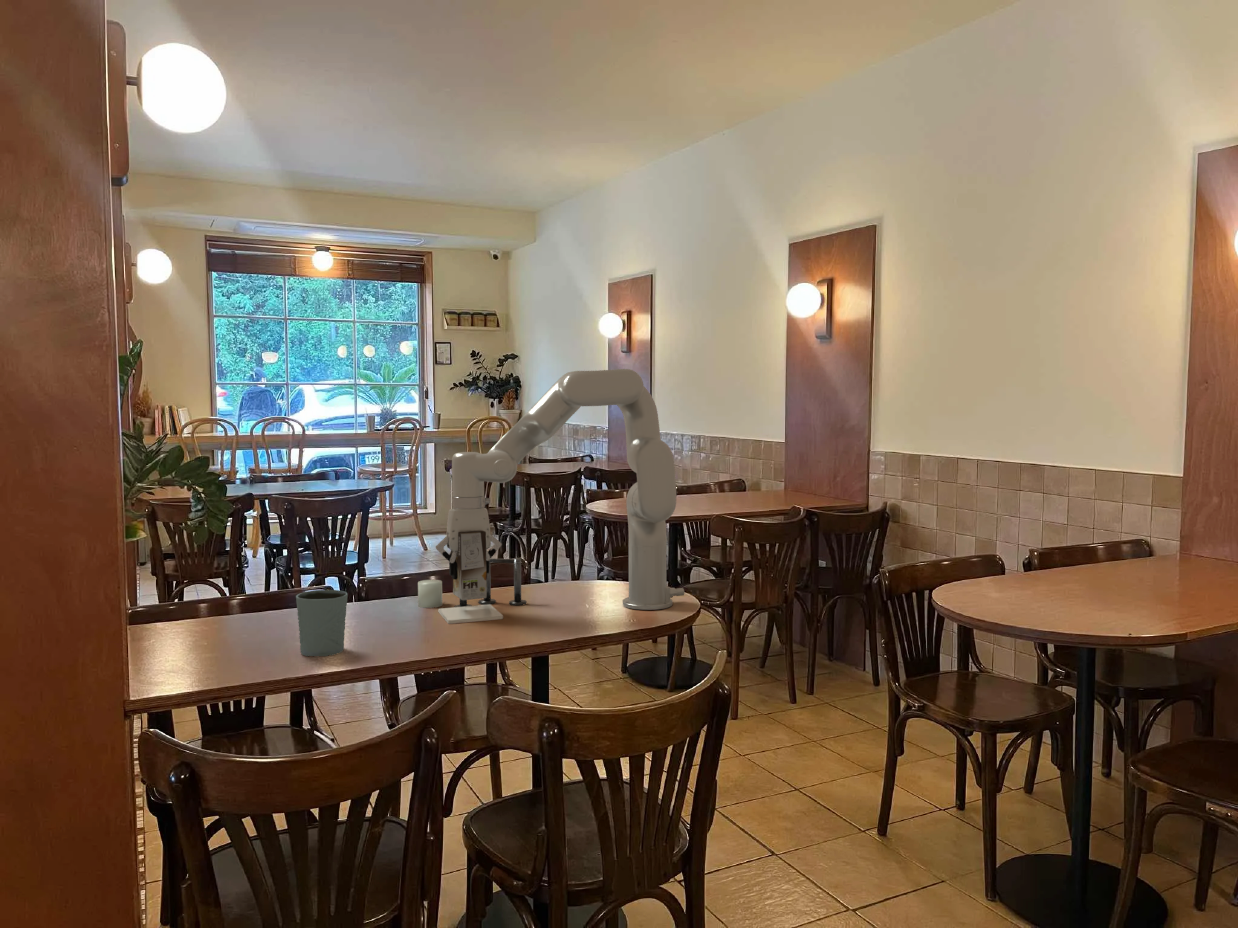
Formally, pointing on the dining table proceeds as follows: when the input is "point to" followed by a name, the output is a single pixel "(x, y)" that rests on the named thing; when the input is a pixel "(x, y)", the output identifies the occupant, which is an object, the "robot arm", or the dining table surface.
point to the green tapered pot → (321, 621)
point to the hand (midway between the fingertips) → (469, 576)
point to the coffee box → (471, 566)
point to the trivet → (470, 614)
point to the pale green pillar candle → (430, 593)
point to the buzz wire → (488, 600)
